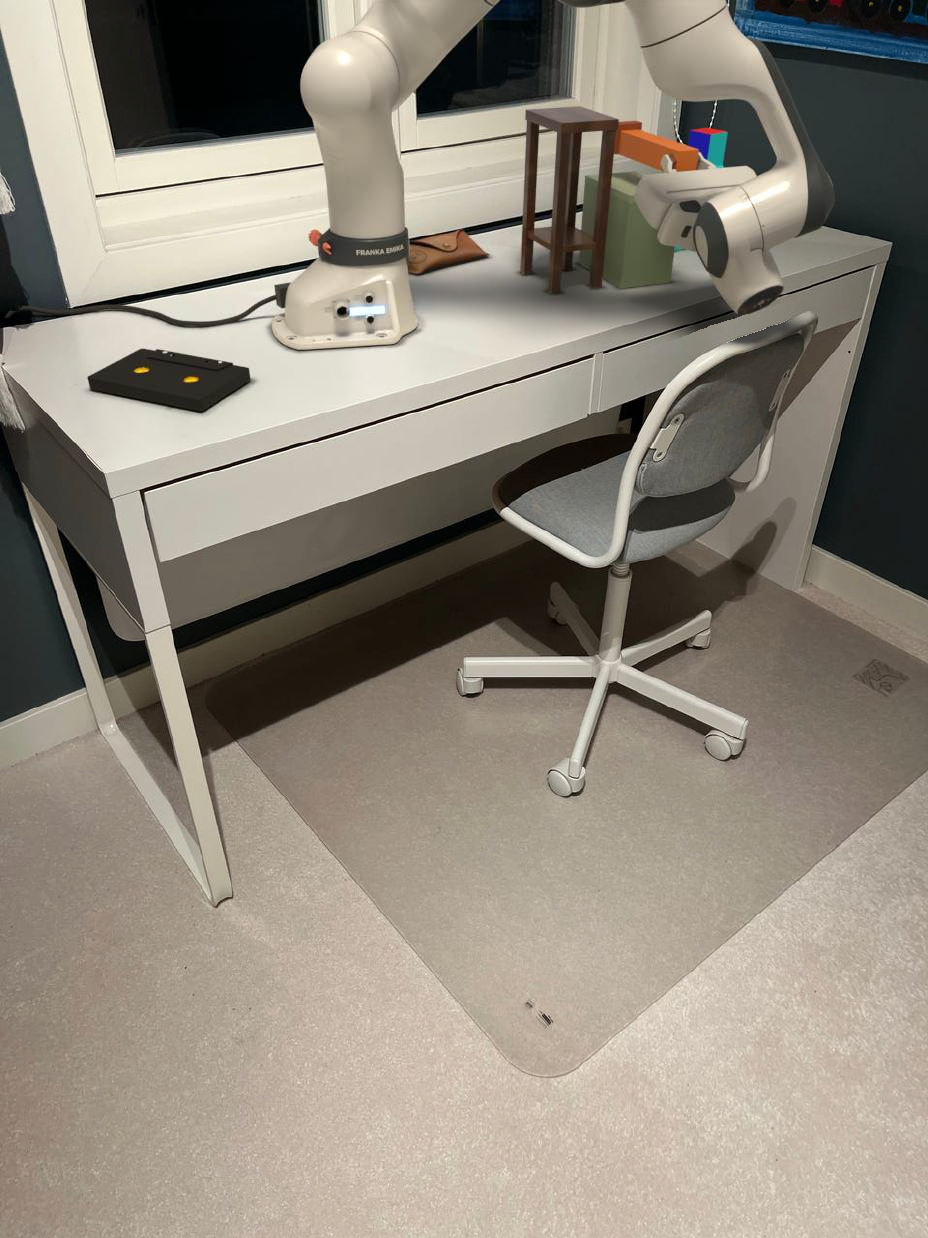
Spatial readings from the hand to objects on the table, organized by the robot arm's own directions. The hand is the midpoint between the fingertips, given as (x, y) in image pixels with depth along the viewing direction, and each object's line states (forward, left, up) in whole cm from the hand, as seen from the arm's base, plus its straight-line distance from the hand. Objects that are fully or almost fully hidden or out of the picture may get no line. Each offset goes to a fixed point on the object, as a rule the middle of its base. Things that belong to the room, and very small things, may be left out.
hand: (679, 156), depth 148 cm
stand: (-13, +13, -21) cm, 28 cm away
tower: (0, +8, -2) cm, 8 cm away
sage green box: (0, +13, -21) cm, 25 cm away
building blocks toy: (+22, +36, -22) cm, 47 cm away
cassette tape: (-83, -9, -22) cm, 86 cm away
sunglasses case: (-28, +31, -22) cm, 47 cm away
